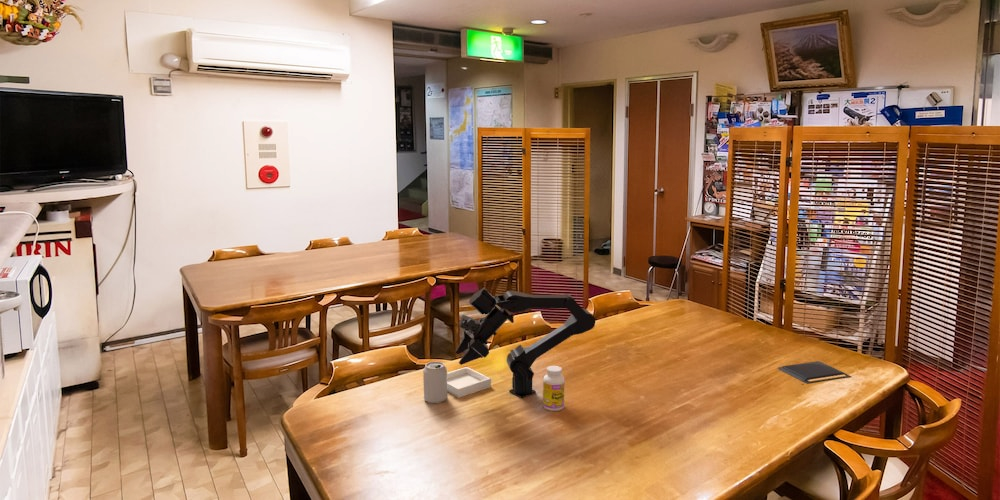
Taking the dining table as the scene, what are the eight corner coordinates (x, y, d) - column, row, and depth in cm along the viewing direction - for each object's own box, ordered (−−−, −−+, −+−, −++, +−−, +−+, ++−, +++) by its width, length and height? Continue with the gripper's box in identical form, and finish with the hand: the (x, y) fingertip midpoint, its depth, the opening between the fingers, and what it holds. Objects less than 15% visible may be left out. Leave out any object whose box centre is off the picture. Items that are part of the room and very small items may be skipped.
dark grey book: (820, 358, 229) (853, 374, 215) (820, 363, 229) (853, 379, 215) (775, 364, 224) (806, 380, 210) (774, 369, 224) (805, 385, 210)
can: (443, 405, 194) (442, 369, 192) (420, 403, 196) (419, 367, 193) (450, 395, 201) (449, 360, 199) (428, 393, 203) (427, 359, 200)
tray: (490, 386, 208) (490, 378, 207) (458, 397, 199) (458, 389, 199) (466, 374, 218) (466, 366, 218) (434, 384, 210) (434, 376, 209)
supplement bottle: (550, 413, 188) (550, 374, 186) (538, 405, 194) (539, 366, 192) (568, 409, 191) (569, 370, 189) (556, 400, 197) (557, 363, 195)
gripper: (469, 299, 204) (437, 333, 204) (477, 315, 186) (442, 353, 186) (493, 320, 207) (461, 354, 207) (503, 338, 189) (468, 375, 189)
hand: (458, 358), depth 197 cm, fingers open, 9 cm apart
